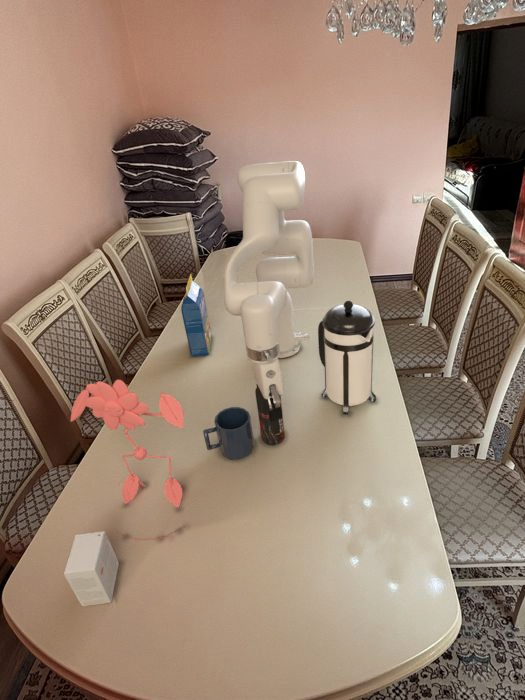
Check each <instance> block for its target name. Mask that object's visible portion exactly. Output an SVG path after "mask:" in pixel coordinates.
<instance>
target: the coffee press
mask: <svg viewBox="0 0 525 700" xmlns="http://www.w3.org/2000/svg"><path fill="white" fill-rule="evenodd" d="M375 323H376V319H375V316H374V315H373V314H372V312H371V311H370V309H368V308H367V307H365V306H362V305H360V304H355V303H353V302H352V301H350V300H346V301H344V303H343V304H339V305H336V306H333V307H331V308H329V310H328V311H327V312H326V313H325V315H324V316H323V318H322V320H321V321H320V322H319V324H318V328H317V338H318V355H319V360H320V363H321V365H322V366H323V368H324V384H325V386H324V387H325V388H324V389H323V390H322V391H321V397H322V398H323V399H326V398H329V400H331V401H332V402H333V403H335V404H337V405H340V406H343V407H342V413H343V414H342V415H347V416H348V415H349V413H350V407H354V406H359V405H361V404H364V403H365V402H366V401H367V400H369V401H370V402H372V403H375V402H376V401H377V395H376V394H375V393H374V391H373V377H372V371H373V367H374V366H373V364H374V363H373V362H374V346H373V343H374V335H375V334H374V333H375V332H374V326H375V325H376V324H375ZM325 392H326V394H325ZM371 396H372V397H371Z"/></svg>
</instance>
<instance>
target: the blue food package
mask: <svg viewBox="0 0 525 700" xmlns="http://www.w3.org/2000/svg"><path fill="white" fill-rule="evenodd" d="M186 284H187V285H186V286H185V292H184V293H185V294H184V296H183V299H182V303H181V307H180V309H181V311H180V312H181V316H182V320H183V321H182V322H183V325H184V329H185V334H186V339H187V344H188V349H189V353H190V357H201V356H209V354H210V352H211V346H212V338H213V335H212V331H211V326H210V319H209V314H208V308H207V303H206V297H205V293H204V291H203V288H202V287H201V286H200V285H199V284H198V283H196V282H195V281H194V280H193V276H192V274H190V275H189V277H188V280H187V283H186Z"/></svg>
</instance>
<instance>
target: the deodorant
mask: <svg viewBox="0 0 525 700" xmlns="http://www.w3.org/2000/svg"><path fill="white" fill-rule="evenodd" d="M254 394H255V400H256V409H257V414H258V422H259V430H260V437H261V438H260V439H261V441H262V442H263V444H264V445H268V446H277V445H280V444H281V443H283V442H284V440H285V437H286V436H285V434H286V433H285V424H284V417H283V418H282V419H278V420H275V421H270V420H269V414H268V407H269V405H268V401H267V399H265V398H264V397H263V395H262V393H261V391H260V389H259V387H257V386H256V388H255V391H254ZM271 395H272V394H271V393H269V396H271ZM279 398H280V401H281V402H282V395H281V396H280V395H279ZM270 401H271V404H273V403H274V400H273V398H270ZM281 405H282V403H281ZM282 415H283V413H282ZM283 416H284V415H283Z"/></svg>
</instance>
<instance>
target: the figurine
mask: <svg viewBox="0 0 525 700" xmlns="http://www.w3.org/2000/svg"><path fill="white" fill-rule="evenodd" d="M90 394H91V395H92V396H90ZM158 405H159V406H158V407H159V411H160V413H157V412H156V413H155V412H148V411H149V409H150V407H149V406H148V404H146V403H145V402H141V401H139V396H138V394H137V393H135V392H130V390H129V387H128V385H127V384H126V383H125V382H124V381H123V380H122V379H116V380H115V381H114V382H113V384H112V386H111V385H109V384H108V383H106V382H104V381H100V380H98V381H97V382H96V383H87V384H86V388H85V389H83V390H81V392H79V394H78V395H77V397H76V398H75V400H74V402H73V406H72V409H71V414H70V422H74V421H75V420H77V418H79V417H80V416H81V415H82V414H83V412H84V410H85V409H86V408H89V409H92V415H93V416H94V417H95V418H97V419H98V418H99V419H101V418H102V421H103V422H104V424H105V425H106V427H107V428H108V429H109V430H113V431H114V430H117V429H118V428H119V426H120V425H121V426H123V427H124V428H125V430H124V436H125V437H126V439H128V440H129V442H130V444H132V446H133V447H134V451H133V454H122V455H121V456H122V459H123V462H124V464H125V466H126V469H127V471H128V473H129V475H128V476H127V478H126V479H125V480H124V481H123V482H124V483H123V485H122V491H121V493H122V500H123V503H124V505H127V504H128V503H130V502H131V501H132V500H133V499H135V498H136V496H137V494H138V491H139V488H140V486H141V487H143V488H145V486H146V484H144V483H143V482H142V481H140V478H139V477H138V474H135V473H132V472H131V469H130V467H129V465H128V462H127V460H126V458H125V457H134V458H135V459H137V460H140V461H141V460H144V459H145V458H156V459H157V458H158V459H168V470H169V478H168V479H167V480H166V481H165V483H164V495H165V498H166V499H167V501H168V502H169V503H170V504H172V505H173V506H174V507H176V508H180V505H181V503H182V502H181V501H182V499H183V488H182V485H181V483H179V481H178V480H177V479H176V478H173V476H172V463H171V457H170V456H166V455H151V454H150V455H149V454H148V450H147V448H146V447H144V446H137V444H136V443H135V442H134V440H133V439H132V438H131V436H130V434H129V433H128V432H129V430H132V431H134V430H135V429H136V427H142V426H143V427H144V426H145V425H146V421H145V419H144V418H143V417H142V416H149V417H150V416H151V417H163V418H164V419H165V420H166V422H167V423H168V424H170V425H172V426H173V427H174V426H175V427H176V428H180V429H184V428H183V427H184V422H185V421H184V418H185V417H184V416H185V413H184V410H183V408H182V405H181V403H180V402H179V401H178V400H177V399H176V398H175V397H173V396H172V395H171V394H166V393H165V392H160V398H159V401H158ZM140 415H142V416H140ZM117 485H120V483H118V484H117ZM185 527H186V525H184V526H183V527H182V528H180V529H178V530H176V531H173V532H172V533H170V534H167V535H164V536H162V537H160V539H161V540H165V539H167V538H169V536H171V535H173V534H175V533H177V532H179V531H181V530H182V529H184V528H185ZM116 532H117V533H119V534H120V535H122V536H124V537H126V538H128V539H131V540H134V538H133V537H128V536H127V535H124V534H122V533H121V532H119V531H118V530H117V531H116ZM158 539H159V537H156V538H151V539H149V538H148V539H147V541H152V540H158ZM135 540H137V541H135V543H138V541H141V539H137V538H135Z"/></svg>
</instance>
